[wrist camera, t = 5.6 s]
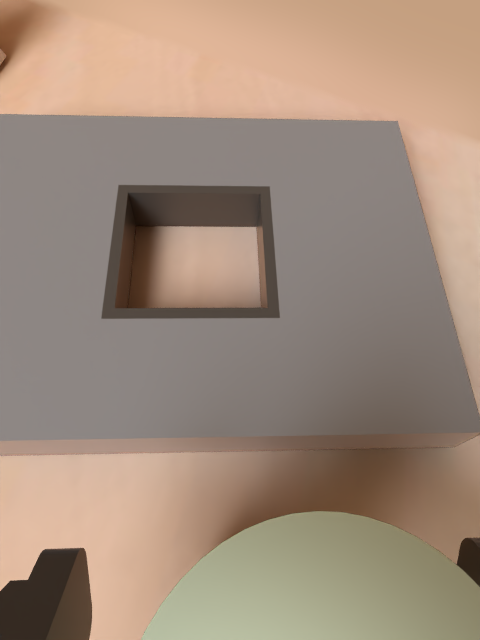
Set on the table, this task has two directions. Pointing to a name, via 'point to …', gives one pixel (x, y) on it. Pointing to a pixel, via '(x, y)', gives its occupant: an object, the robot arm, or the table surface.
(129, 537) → the table surface
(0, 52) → the flask
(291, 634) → the peg
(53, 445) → the socket plate
